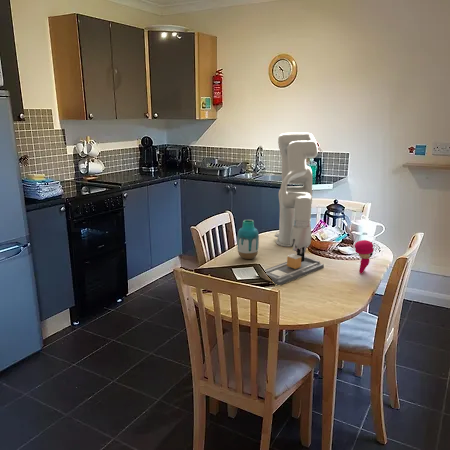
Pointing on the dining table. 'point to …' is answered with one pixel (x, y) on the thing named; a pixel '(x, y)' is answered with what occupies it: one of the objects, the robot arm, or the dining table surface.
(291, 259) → the orange cube
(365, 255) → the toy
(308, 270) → the grey rectangular tray
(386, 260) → the dining table surface
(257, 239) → the vase
